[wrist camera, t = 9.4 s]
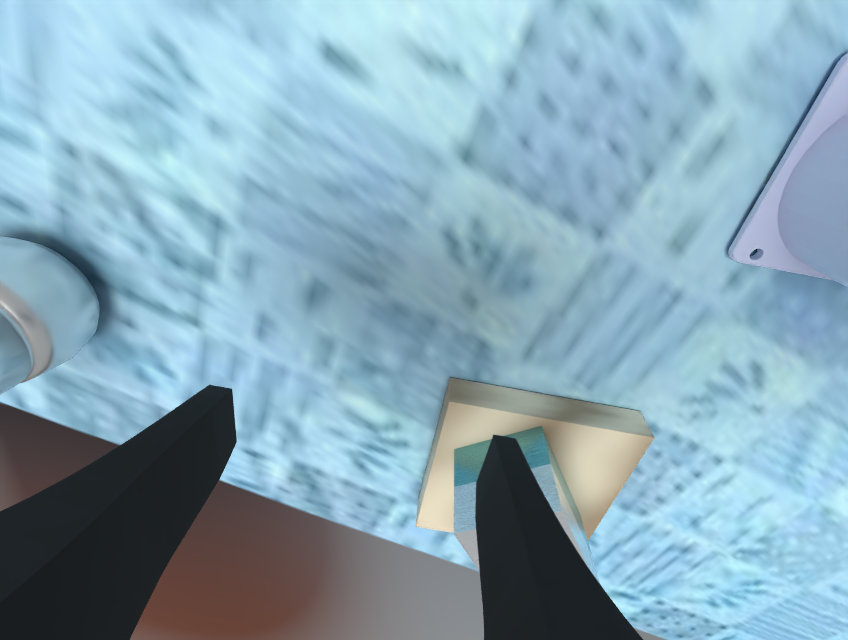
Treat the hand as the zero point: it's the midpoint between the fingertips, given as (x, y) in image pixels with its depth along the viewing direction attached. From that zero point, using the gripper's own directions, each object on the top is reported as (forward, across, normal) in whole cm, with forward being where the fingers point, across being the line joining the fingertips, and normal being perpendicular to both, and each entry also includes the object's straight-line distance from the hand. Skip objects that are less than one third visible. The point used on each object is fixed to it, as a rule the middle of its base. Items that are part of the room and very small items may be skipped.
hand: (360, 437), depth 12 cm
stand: (+10, -9, +11) cm, 18 cm away
